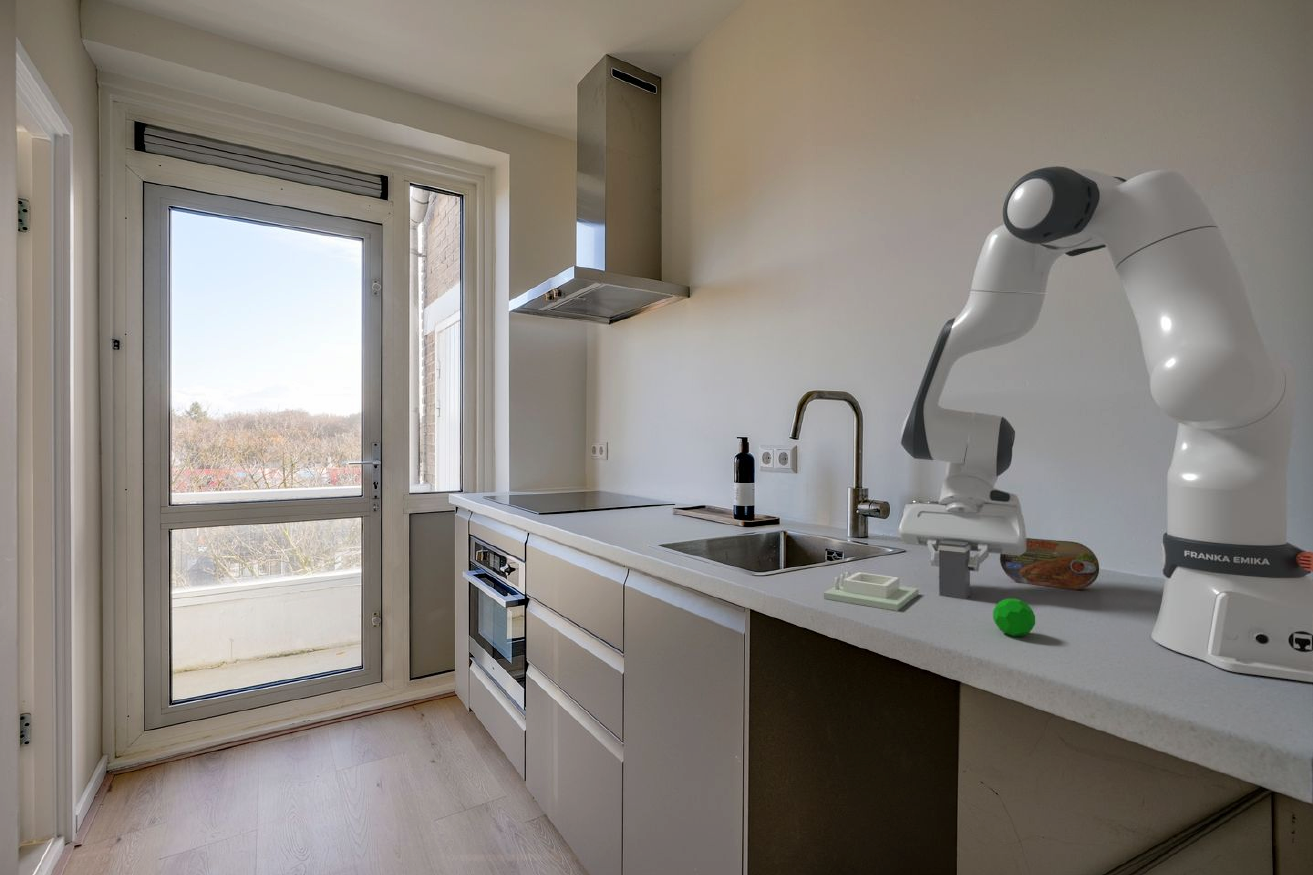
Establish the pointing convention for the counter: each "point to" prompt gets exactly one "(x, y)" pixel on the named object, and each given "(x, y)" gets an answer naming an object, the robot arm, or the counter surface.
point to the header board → (871, 591)
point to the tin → (1053, 564)
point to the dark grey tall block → (954, 569)
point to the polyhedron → (1014, 617)
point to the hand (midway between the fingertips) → (953, 566)
